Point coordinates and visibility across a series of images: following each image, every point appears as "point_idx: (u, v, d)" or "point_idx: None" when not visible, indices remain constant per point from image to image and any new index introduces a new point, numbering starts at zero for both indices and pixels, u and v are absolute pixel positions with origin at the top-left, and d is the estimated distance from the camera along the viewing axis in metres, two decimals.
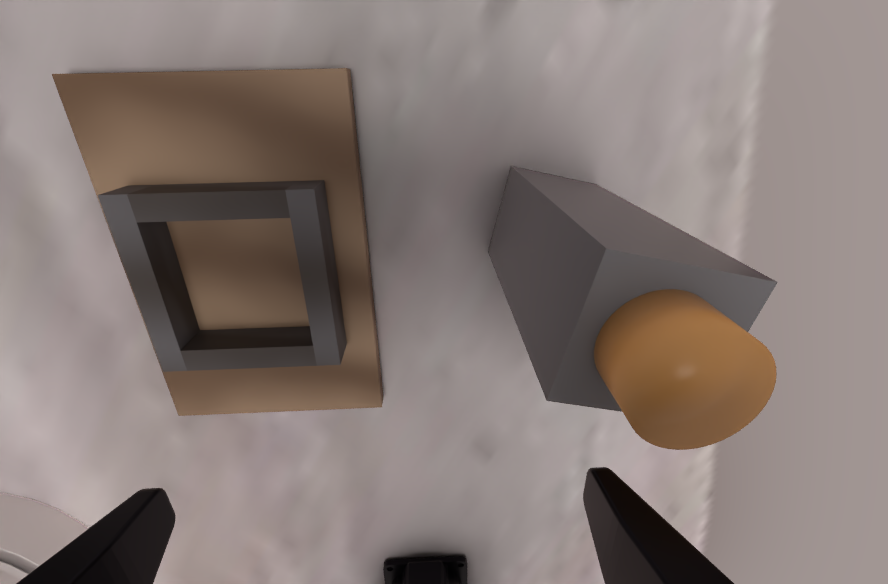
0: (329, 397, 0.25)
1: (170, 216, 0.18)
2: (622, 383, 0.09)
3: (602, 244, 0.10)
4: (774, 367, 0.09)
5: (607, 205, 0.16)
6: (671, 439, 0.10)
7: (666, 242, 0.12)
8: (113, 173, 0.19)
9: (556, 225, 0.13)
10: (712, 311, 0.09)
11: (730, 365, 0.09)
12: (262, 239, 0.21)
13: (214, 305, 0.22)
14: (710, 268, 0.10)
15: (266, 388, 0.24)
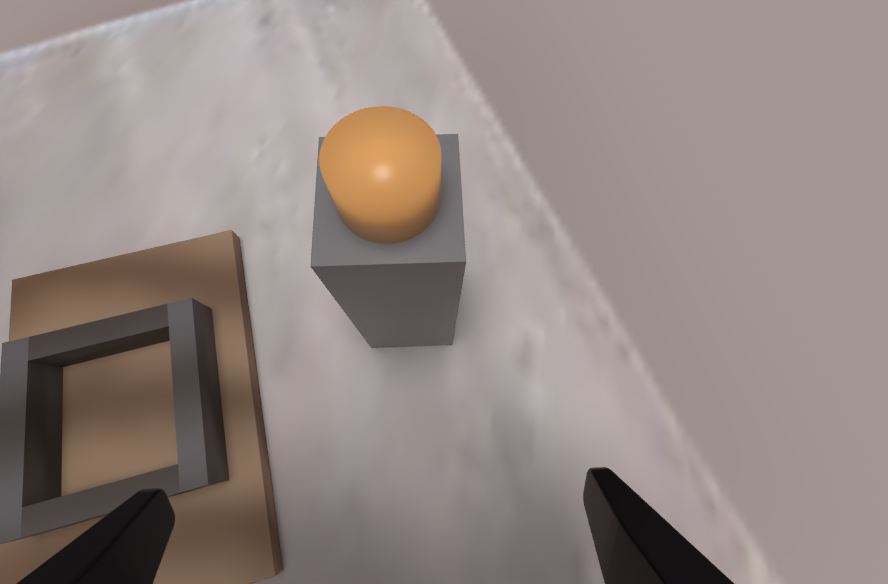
0: (205, 574, 0.19)
1: (60, 348, 0.20)
2: (322, 171, 0.11)
3: None
4: (426, 124, 0.11)
5: None
6: (377, 200, 0.11)
7: None
8: None
9: None
10: None
11: (391, 129, 0.11)
12: (150, 374, 0.22)
13: (86, 462, 0.20)
14: None
15: None
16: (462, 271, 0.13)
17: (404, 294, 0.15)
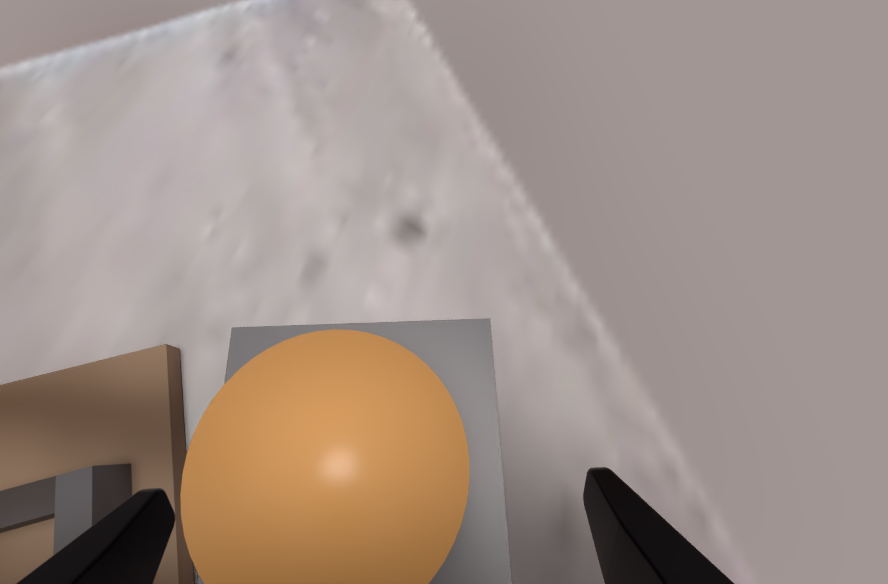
0: None
1: None
2: (196, 492, 0.05)
3: None
4: (434, 377, 0.05)
5: None
6: None
7: None
8: None
9: None
10: None
11: (354, 391, 0.05)
12: None
13: None
14: (389, 323, 0.07)
15: None
16: None
17: None
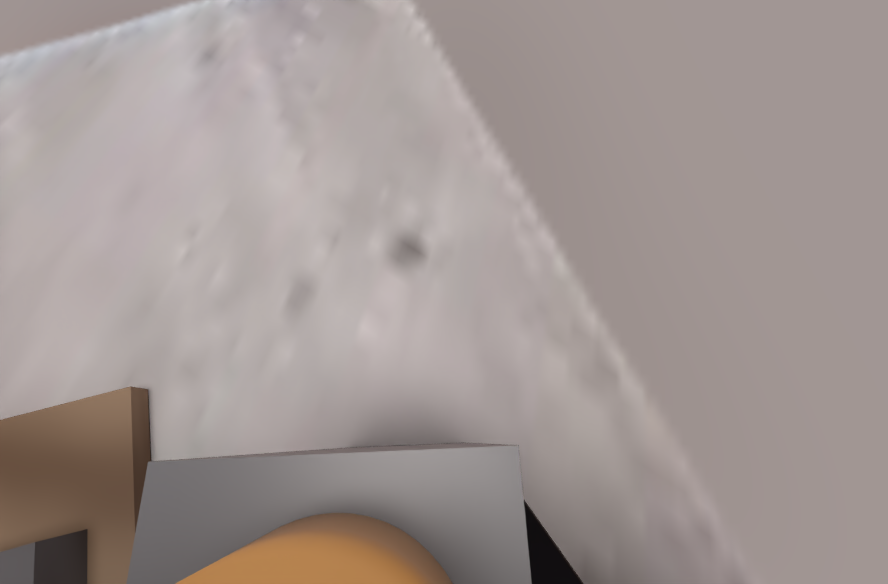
0: None
1: None
2: None
3: (166, 460, 0.05)
4: None
5: None
6: None
7: (383, 449, 0.07)
8: None
9: None
10: (316, 531, 0.04)
11: None
12: None
13: None
14: (374, 451, 0.05)
15: None
16: None
17: None
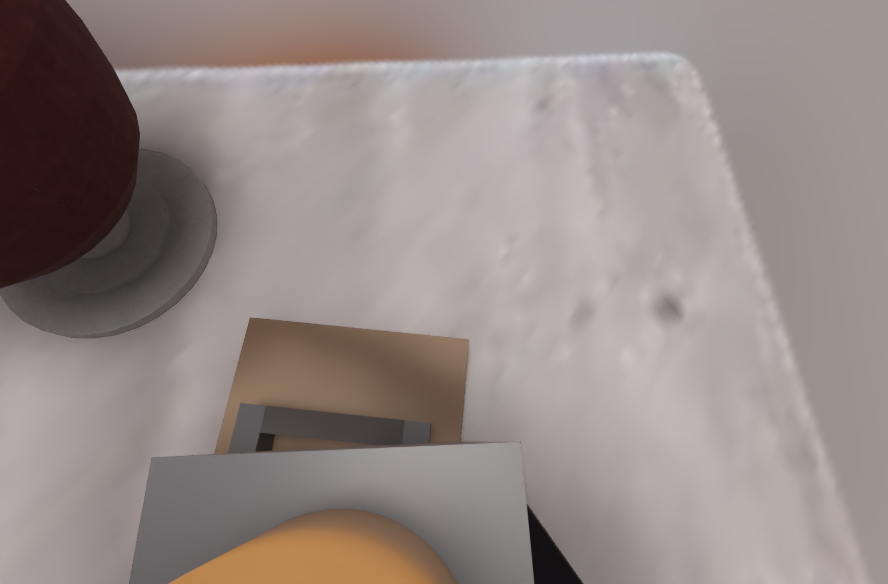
0: None
1: (292, 431, 0.19)
2: None
3: None
4: None
5: None
6: None
7: None
8: (251, 394, 0.22)
9: None
10: (319, 526, 0.04)
11: None
12: None
13: None
14: (377, 448, 0.05)
15: None
16: None
17: None
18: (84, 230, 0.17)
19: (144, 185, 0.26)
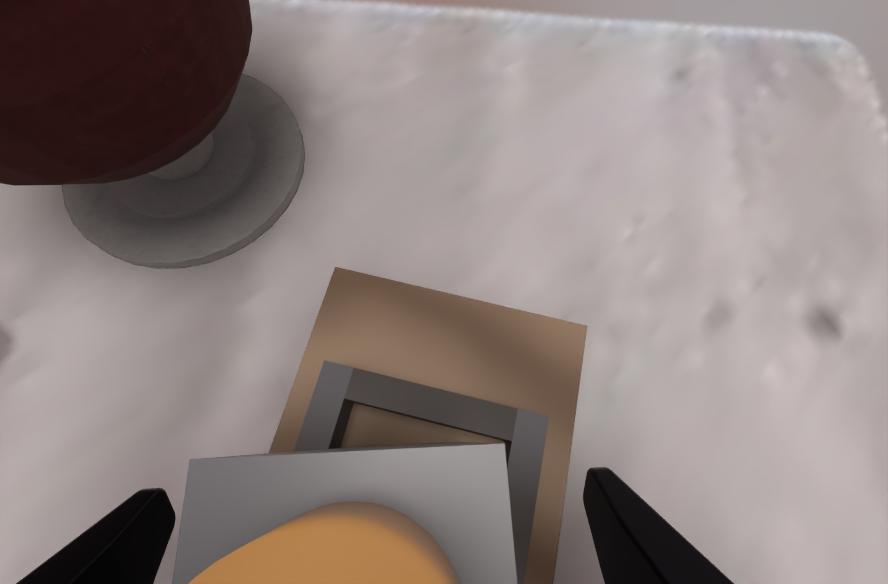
0: None
1: (383, 402, 0.16)
2: None
3: None
4: None
5: (406, 445, 0.12)
6: None
7: None
8: (329, 353, 0.19)
9: None
10: (337, 514, 0.05)
11: None
12: None
13: None
14: (382, 450, 0.06)
15: None
16: None
17: None
18: (182, 125, 0.14)
19: (231, 108, 0.23)
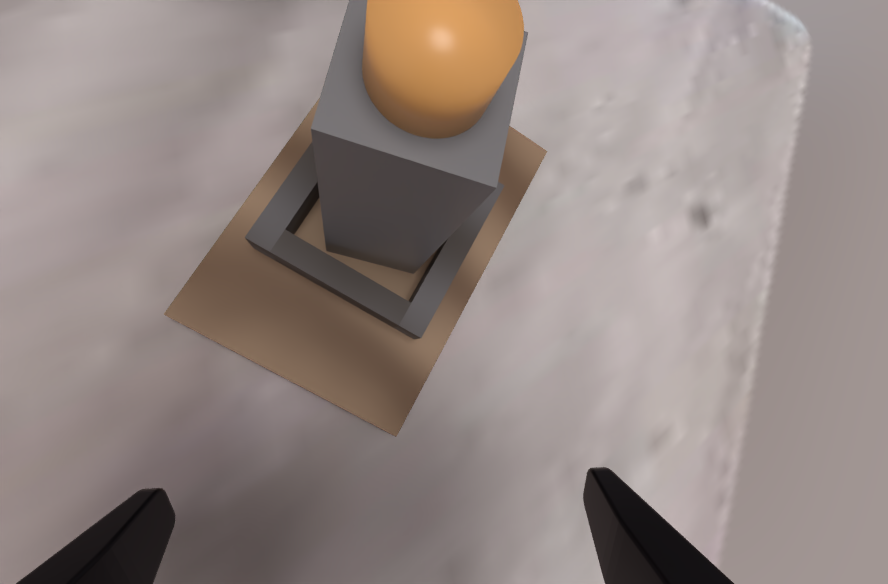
0: (351, 391, 0.20)
1: None
2: (366, 6, 0.08)
3: None
4: None
5: None
6: (431, 70, 0.08)
7: None
8: None
9: None
10: None
11: None
12: None
13: None
14: None
15: (295, 340, 0.20)
16: (483, 198, 0.11)
17: (401, 203, 0.13)
18: None
19: None
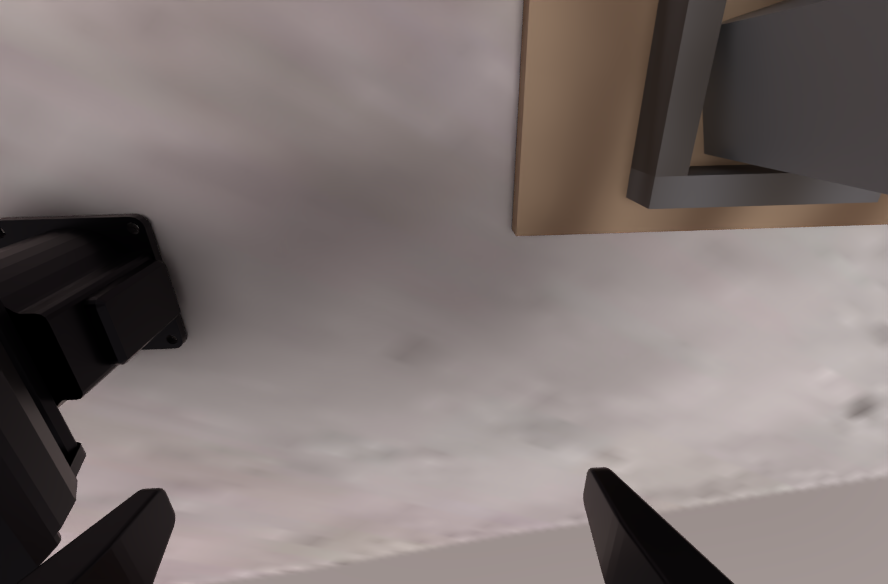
0: (542, 163, 0.17)
1: None
2: None
3: None
4: None
5: None
6: None
7: None
8: None
9: None
10: None
11: None
12: None
13: (730, 10, 0.15)
14: None
15: (572, 64, 0.15)
16: None
17: None
18: None
19: None
